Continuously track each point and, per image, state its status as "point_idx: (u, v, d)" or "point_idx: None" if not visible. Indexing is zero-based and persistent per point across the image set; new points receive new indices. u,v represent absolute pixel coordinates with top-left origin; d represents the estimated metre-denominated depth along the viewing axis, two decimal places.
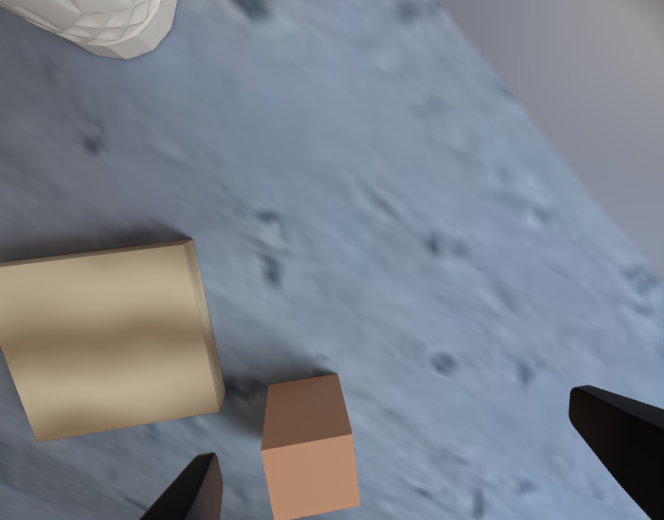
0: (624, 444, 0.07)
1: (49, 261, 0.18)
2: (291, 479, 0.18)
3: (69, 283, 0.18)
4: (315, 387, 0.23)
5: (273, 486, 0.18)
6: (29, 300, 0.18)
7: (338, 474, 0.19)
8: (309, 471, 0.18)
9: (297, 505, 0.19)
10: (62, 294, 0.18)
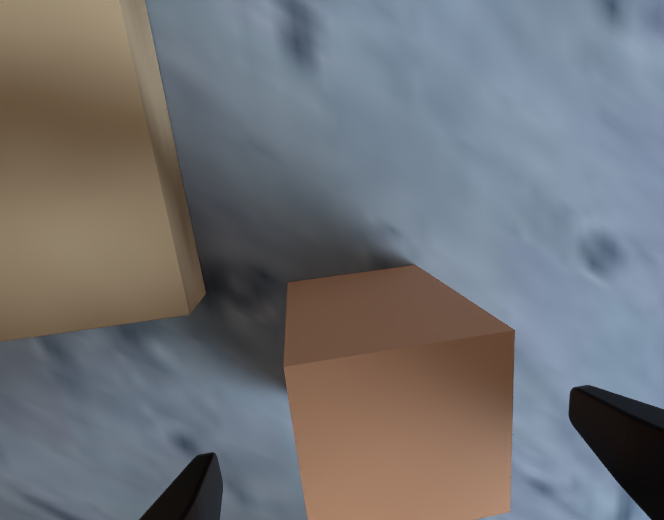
0: (624, 444, 0.07)
1: None
2: (357, 446, 0.07)
3: None
4: (380, 279, 0.12)
5: (312, 464, 0.07)
6: None
7: (469, 435, 0.08)
8: (403, 426, 0.07)
9: (368, 511, 0.08)
10: None
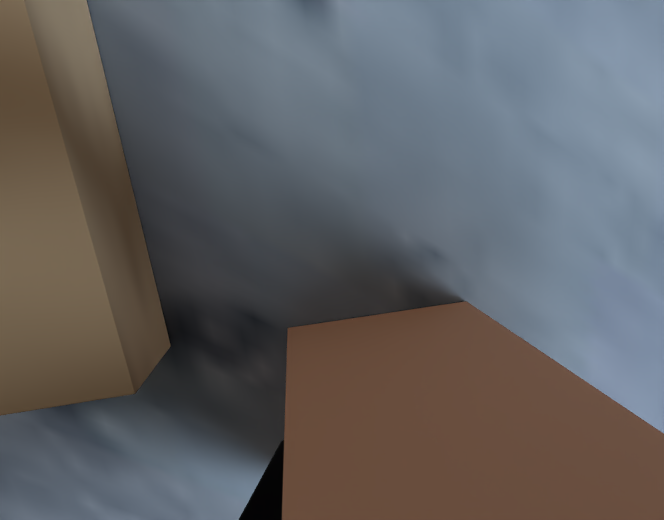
0: None
1: None
2: None
3: None
4: (424, 329, 0.08)
5: None
6: None
7: None
8: None
9: None
10: None
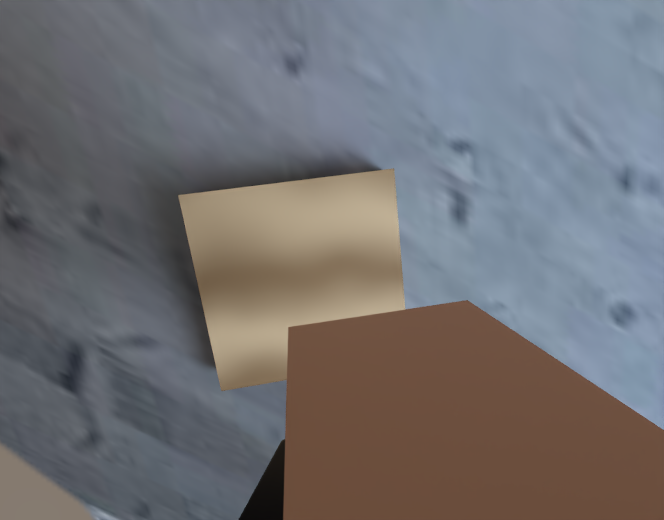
0: None
1: (256, 186, 0.17)
2: None
3: (274, 211, 0.17)
4: (425, 328, 0.08)
5: None
6: (232, 229, 0.17)
7: None
8: None
9: None
10: (266, 223, 0.17)
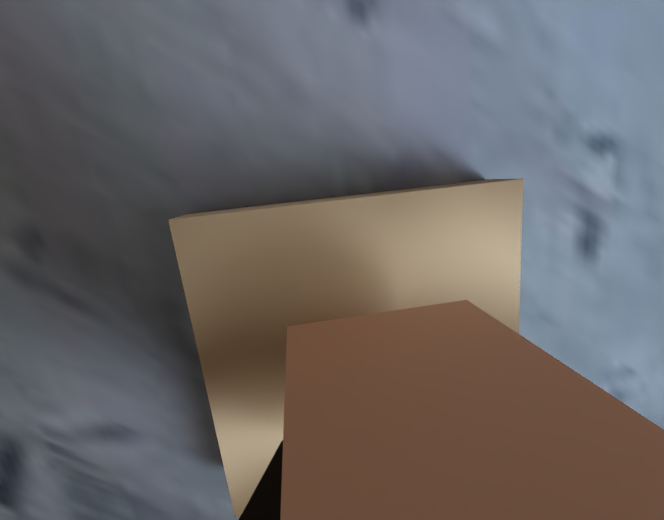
0: None
1: (300, 205, 0.10)
2: None
3: (329, 246, 0.10)
4: (424, 327, 0.08)
5: None
6: (258, 276, 0.10)
7: None
8: None
9: None
10: (315, 266, 0.10)
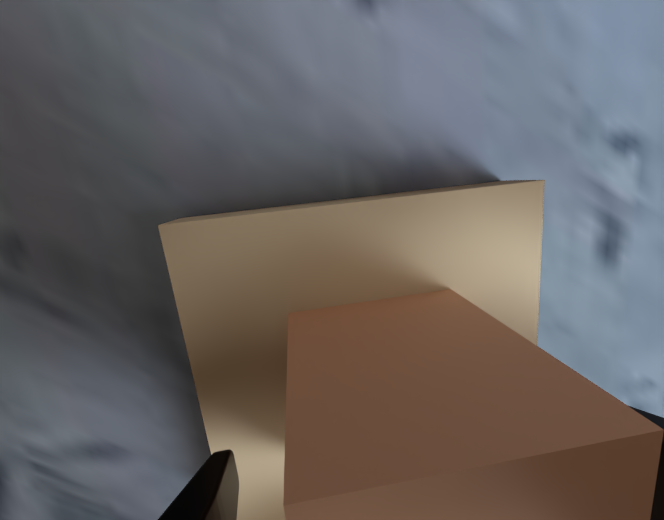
0: None
1: (302, 209, 0.09)
2: None
3: (333, 253, 0.09)
4: (411, 312, 0.09)
5: None
6: (257, 286, 0.09)
7: None
8: None
9: None
10: (318, 275, 0.10)
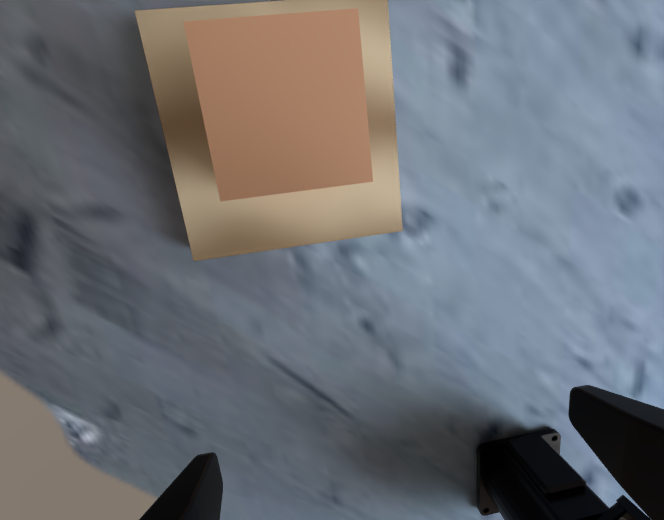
0: (624, 444, 0.07)
1: (228, 6, 0.14)
2: (246, 102, 0.10)
3: None
4: None
5: (213, 115, 0.10)
6: None
7: (332, 103, 0.10)
8: (279, 88, 0.10)
9: (260, 166, 0.10)
10: None
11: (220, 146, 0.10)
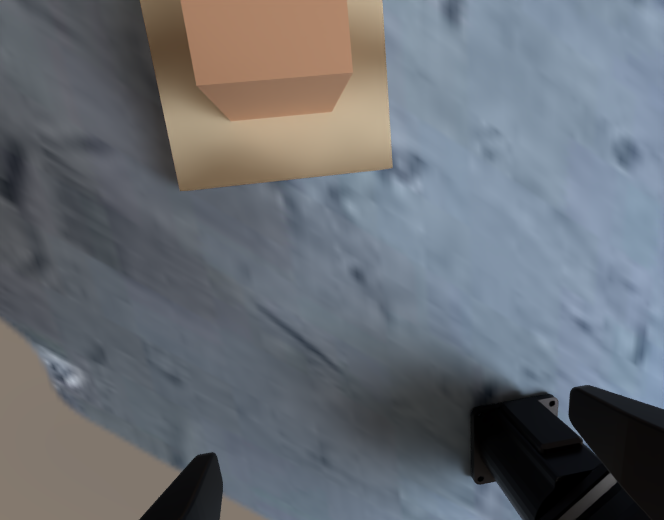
0: (624, 444, 0.07)
1: None
2: None
3: None
4: None
5: None
6: None
7: None
8: None
9: (237, 50, 0.10)
10: None
11: (196, 25, 0.10)
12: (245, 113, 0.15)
